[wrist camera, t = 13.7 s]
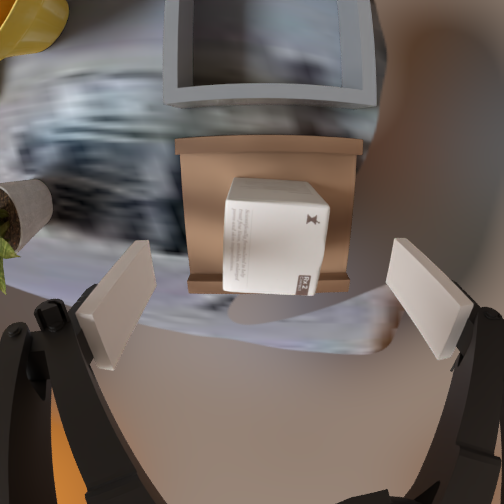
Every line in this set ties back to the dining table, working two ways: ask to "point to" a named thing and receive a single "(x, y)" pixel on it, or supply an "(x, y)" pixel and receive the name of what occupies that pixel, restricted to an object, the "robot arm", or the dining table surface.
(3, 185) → the house plant
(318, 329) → the dining table surface
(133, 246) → the robot arm
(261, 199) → the skincare box
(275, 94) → the grey storage bin
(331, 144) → the tray
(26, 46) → the plant pot
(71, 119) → the dining table surface
